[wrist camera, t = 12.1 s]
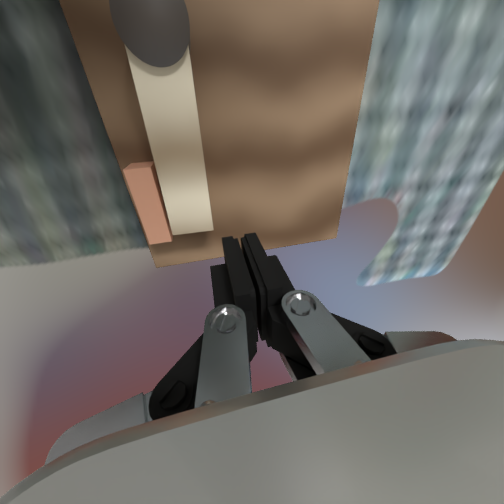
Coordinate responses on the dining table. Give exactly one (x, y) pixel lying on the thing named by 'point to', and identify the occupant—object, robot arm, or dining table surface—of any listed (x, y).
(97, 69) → the stool seat board
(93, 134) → the dining table surface
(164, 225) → the leg stop
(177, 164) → the folding leg
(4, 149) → the dining table surface
